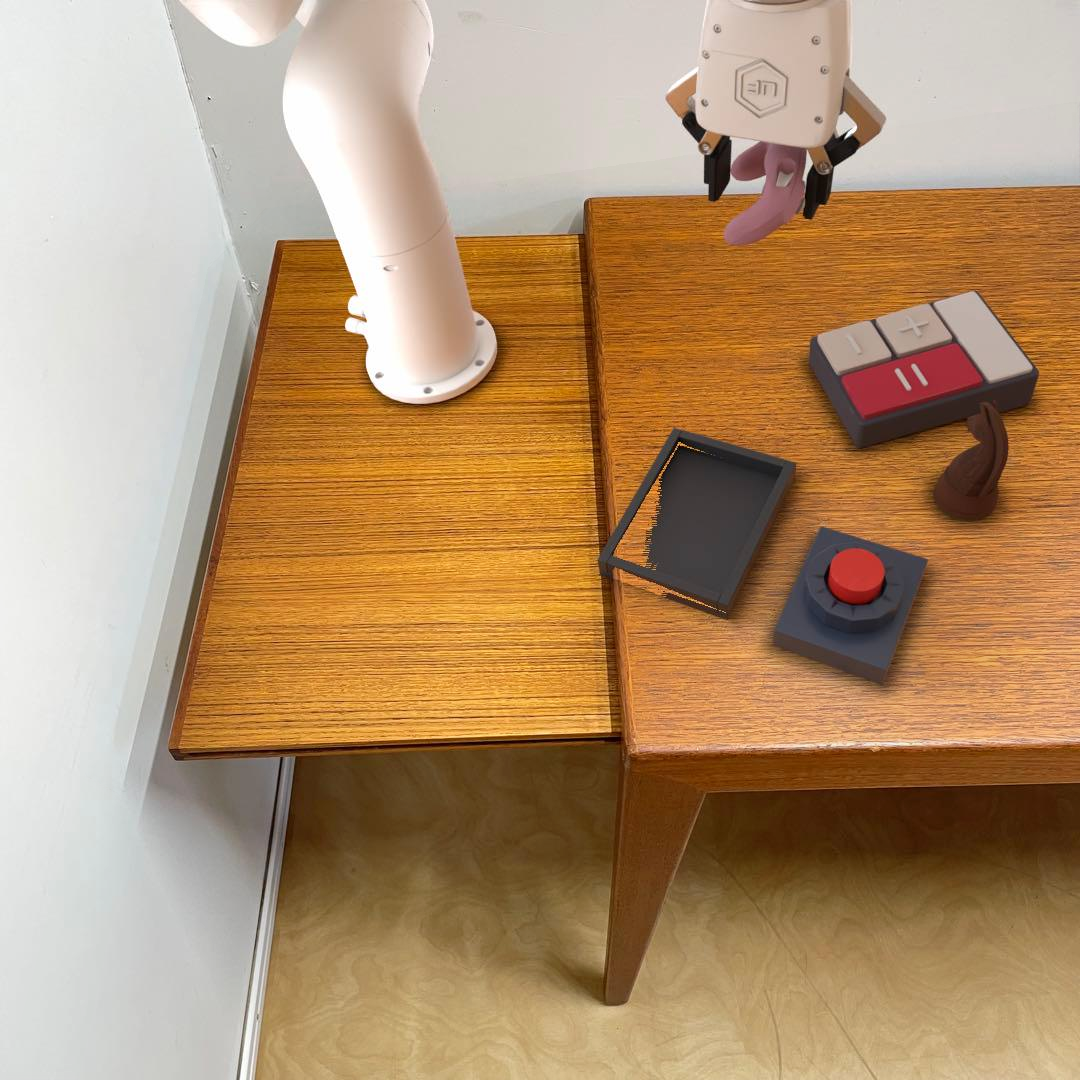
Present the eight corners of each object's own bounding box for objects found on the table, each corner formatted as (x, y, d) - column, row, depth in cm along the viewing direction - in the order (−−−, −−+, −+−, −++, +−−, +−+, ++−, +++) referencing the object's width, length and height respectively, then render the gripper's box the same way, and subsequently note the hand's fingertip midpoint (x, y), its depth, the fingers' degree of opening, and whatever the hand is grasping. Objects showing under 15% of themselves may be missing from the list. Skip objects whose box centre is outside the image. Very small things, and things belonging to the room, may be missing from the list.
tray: (599, 574, 77) (597, 559, 76) (674, 443, 84) (673, 427, 83) (727, 620, 74) (727, 605, 72) (794, 479, 80) (796, 462, 79)
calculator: (808, 330, 85) (977, 281, 85) (806, 366, 88) (969, 319, 88) (860, 420, 78) (1044, 366, 78) (856, 455, 82) (1032, 404, 81)
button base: (771, 645, 72) (775, 616, 69) (817, 542, 77) (822, 510, 73) (882, 685, 69) (891, 657, 66) (923, 575, 74) (933, 544, 70)
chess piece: (979, 470, 78) (1010, 380, 70) (1009, 519, 75) (1045, 431, 67) (923, 483, 78) (947, 394, 70) (950, 532, 75) (980, 446, 67)
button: (820, 594, 70) (823, 580, 68) (837, 555, 71) (840, 541, 70) (872, 611, 68) (875, 598, 67) (887, 571, 70) (891, 557, 69)
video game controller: (770, 267, 77) (820, 198, 71) (717, 245, 76) (764, 173, 70) (775, 190, 82) (822, 120, 77) (726, 168, 82) (770, 96, 76)
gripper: (634, -24, 65) (644, 208, 79) (904, 4, 59) (862, 250, 73) (677, -76, 68) (679, 155, 83) (936, -54, 62) (890, 191, 77)
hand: (765, 198), depth 78 cm, fingers closed on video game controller, 7 cm apart
